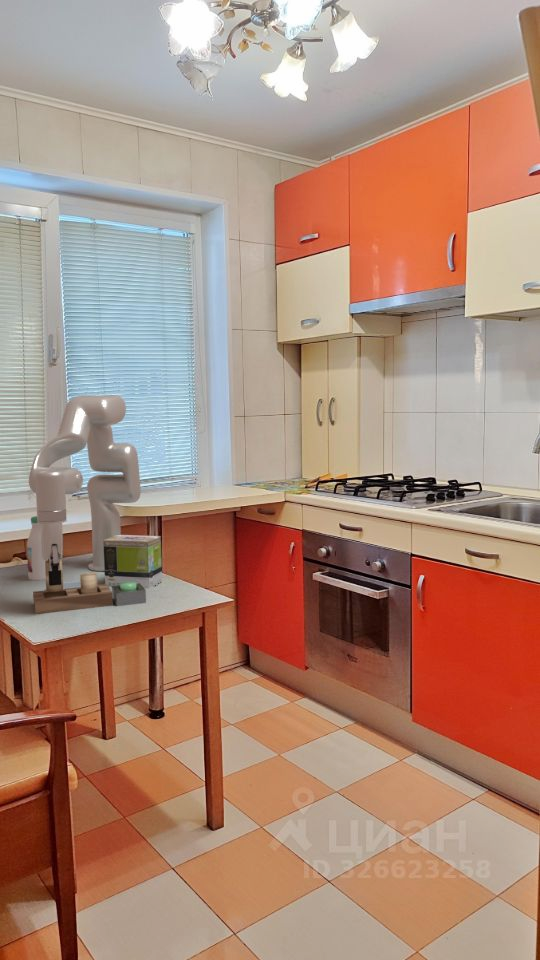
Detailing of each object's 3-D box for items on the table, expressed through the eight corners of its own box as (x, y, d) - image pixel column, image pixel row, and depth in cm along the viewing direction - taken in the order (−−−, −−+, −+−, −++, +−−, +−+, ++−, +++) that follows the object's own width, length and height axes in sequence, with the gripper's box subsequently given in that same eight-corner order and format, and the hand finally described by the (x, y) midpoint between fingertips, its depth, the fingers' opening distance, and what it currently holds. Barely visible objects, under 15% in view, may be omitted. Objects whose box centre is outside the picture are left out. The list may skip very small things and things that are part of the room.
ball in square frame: (112, 600, 199) (111, 586, 198) (140, 596, 202) (139, 583, 201) (116, 607, 191) (116, 593, 191) (146, 604, 194) (145, 590, 194)
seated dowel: (80, 601, 196) (79, 573, 195) (96, 599, 197) (95, 572, 196) (82, 605, 192) (81, 577, 191) (98, 603, 193) (97, 575, 192)
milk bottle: (57, 575, 227) (55, 514, 225) (47, 581, 220) (45, 518, 218) (34, 575, 228) (31, 514, 226) (24, 581, 221) (21, 518, 218)
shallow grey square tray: (46, 591, 209) (46, 584, 209) (91, 586, 214) (91, 580, 213) (50, 602, 197) (49, 595, 197) (97, 597, 202) (97, 590, 201)
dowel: (45, 588, 192) (44, 559, 191) (62, 587, 193) (61, 558, 192) (46, 592, 188) (45, 563, 187) (63, 590, 189) (62, 561, 188)
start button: (119, 593, 198) (119, 582, 197) (135, 591, 199) (134, 581, 199) (122, 597, 193) (121, 586, 193) (138, 595, 195) (137, 584, 195)
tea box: (163, 581, 219) (161, 535, 217) (149, 590, 209) (147, 541, 207) (119, 579, 223) (118, 533, 221) (103, 587, 213) (102, 539, 211)
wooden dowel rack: (33, 605, 194) (33, 591, 193) (107, 597, 201) (106, 584, 201) (35, 615, 185) (35, 601, 184) (112, 607, 192) (112, 592, 191)
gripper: (35, 512, 195) (38, 577, 197) (39, 522, 179) (42, 591, 181) (63, 511, 198) (65, 574, 199) (69, 520, 182) (72, 588, 184)
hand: (54, 582), depth 190 cm, fingers closed on dowel, 4 cm apart
